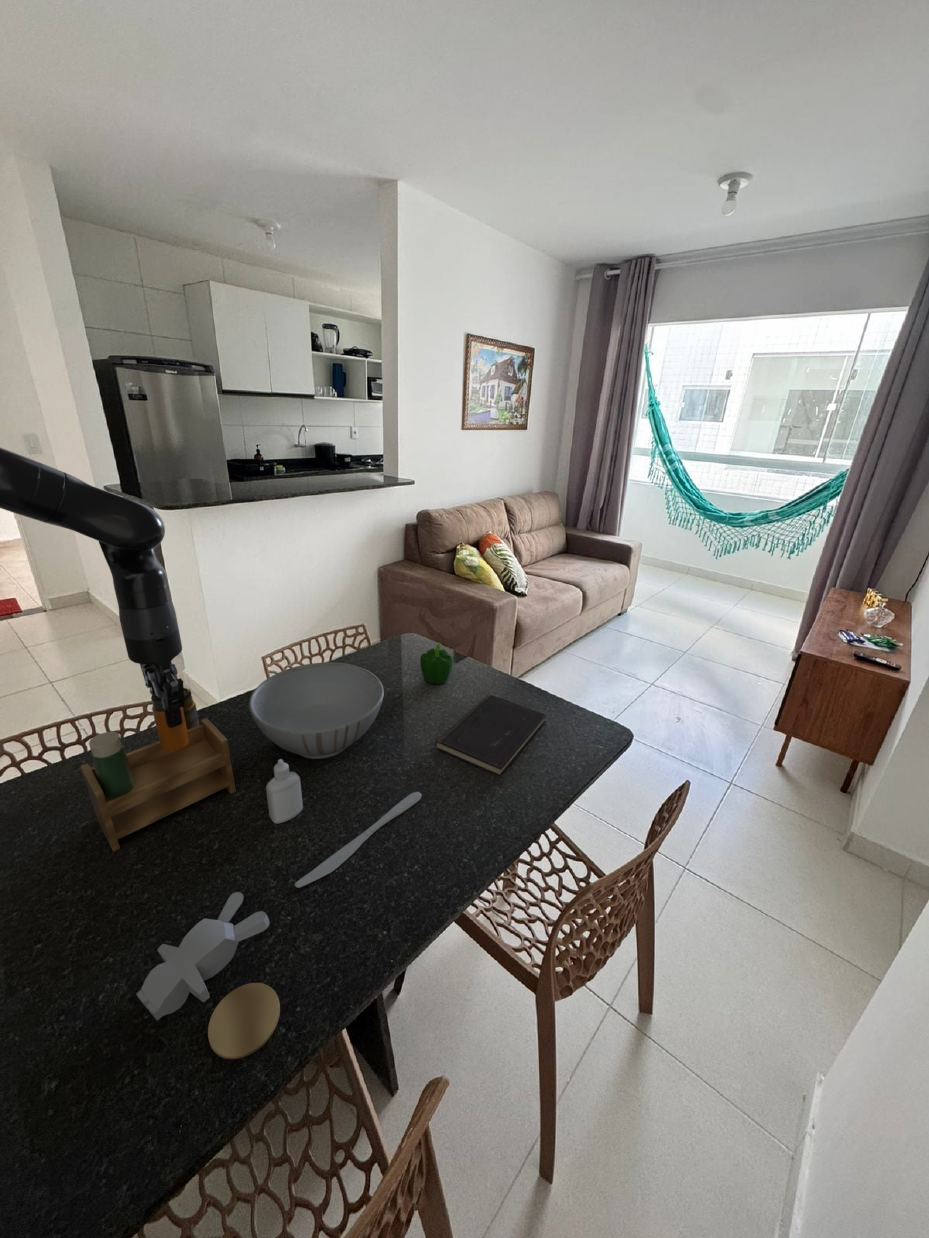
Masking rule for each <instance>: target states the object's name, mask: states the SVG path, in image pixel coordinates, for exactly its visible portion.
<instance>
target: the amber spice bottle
mask: <svg viewBox="0 0 929 1238" xmlns="http://www.w3.org/2000/svg"><path fill="white" fill-rule="evenodd" d="M160 691H163V690H160ZM150 699H151V704H152V707H151V712H152V715H153V720H154V724H155V729H156V732H157V737H158V741H159V742H160V747H161V749H162V750H163V751H166V752H173V751H177V750H180V749H182V748H184V747H185V746H187V745H188V743H189V736H188V731H187V726H186V721H185V716H184V711H183V707H180V710H181V715H182V720H183V723H182V724H181V725H178V726H175V727H173V728H169V727H168V725H167V722H166V717H165V713H164V709H163V707H162V706H163V705H162V702H161V699H160V697H158V696H156V694H155V693H154V694H153V695H151V696H150Z"/></svg>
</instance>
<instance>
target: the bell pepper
mask: <svg viewBox="0 0 929 1238" xmlns="http://www.w3.org/2000/svg"><path fill="white" fill-rule="evenodd" d="M441 646H442V643H440V642H439V643H437V644H436V646H435V647H432V648H431V649H429V650H427V651H426V653H421V655H420V657H419V658H420V659H419V660H420V661H419V662H420V663H419V664H420V669H421V674H422V677H423V680H424V682H426V683H427V684H429V685H434V684H436V685H443V684H446V683H447V681H448V680H449V678H450V675H451V672H452V668H453V657H452V655H451V654H449V653H448V652H447V650H445V649H444V648H442V649H441Z"/></svg>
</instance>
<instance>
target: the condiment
mask: <svg viewBox="0 0 929 1238" xmlns="http://www.w3.org/2000/svg"><path fill="white" fill-rule="evenodd" d="M184 701H185V706H184V707H183V711H184V716H185V721H186V726H187V730H189V729H191V728H194V727H197V726H199V725H200V720H199V715H198V710H197V709H198V708H197V705H196V702H195V700H194V699H193V696H192V691H191V689H189V688H186V687H184Z"/></svg>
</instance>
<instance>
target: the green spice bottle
mask: <svg viewBox="0 0 929 1238" xmlns="http://www.w3.org/2000/svg"><path fill="white" fill-rule="evenodd" d="M88 745H89V749H90V757H91V761H92V764H93V766H94V767H95V771H96V774H97V777H98V780H99V784H100V787H101V789H102V791H103V793H104V797H106V798H117V797H120V796H123V795H125V794H127V793H128V792H130V791H131V790H132V789H133V787H134V781H133V777H132V774H131V770H130V766H129V763H128V759H127V755H126V754H127V753H126V748H125V745H124V743H123V742H122V739H121V736H120V734H119V733H118V732H116V731H107V732H105V731H104V732H102V733H99V734H97V735H95V736H93V737H92V738H91V739H90V740H89V742H88Z"/></svg>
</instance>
